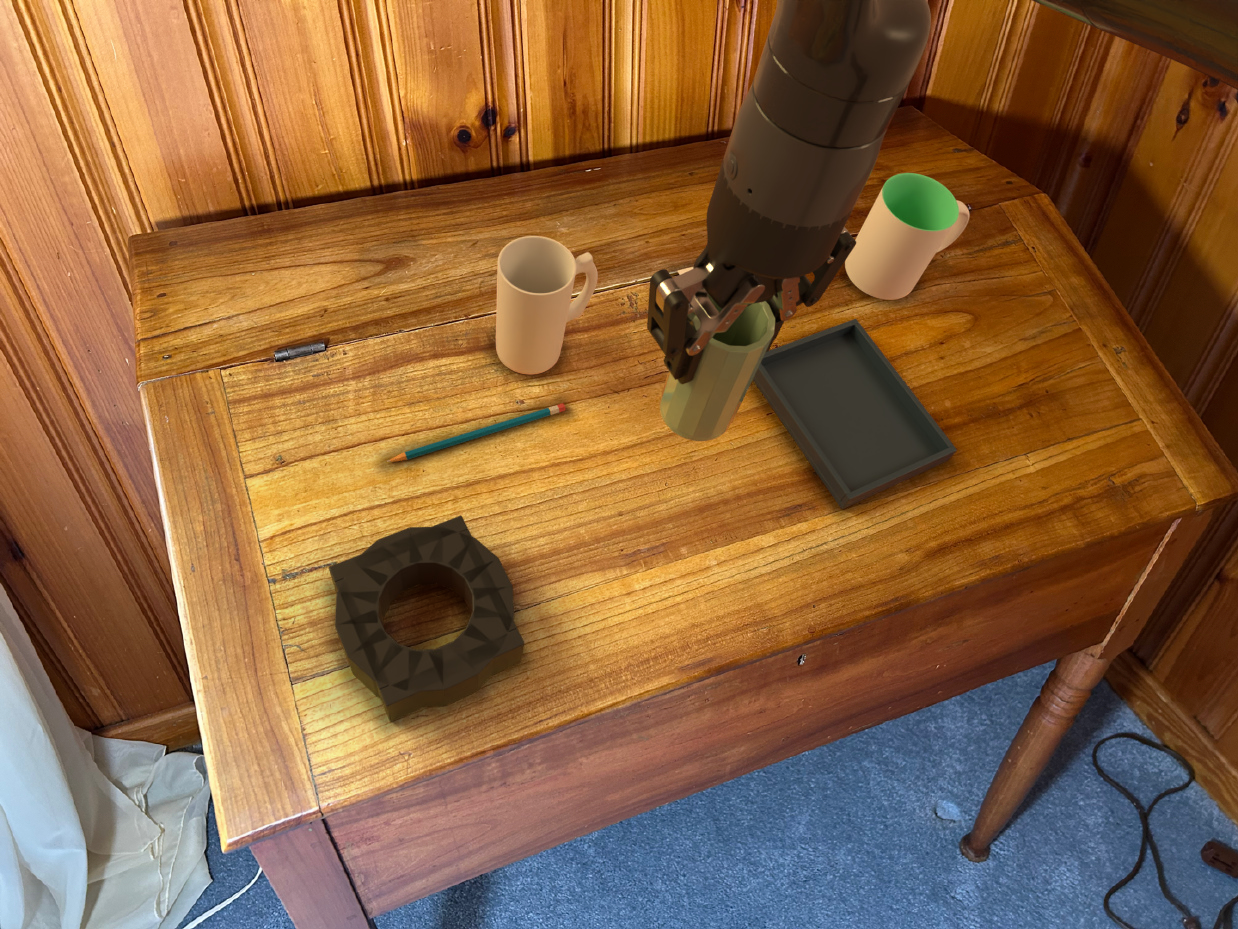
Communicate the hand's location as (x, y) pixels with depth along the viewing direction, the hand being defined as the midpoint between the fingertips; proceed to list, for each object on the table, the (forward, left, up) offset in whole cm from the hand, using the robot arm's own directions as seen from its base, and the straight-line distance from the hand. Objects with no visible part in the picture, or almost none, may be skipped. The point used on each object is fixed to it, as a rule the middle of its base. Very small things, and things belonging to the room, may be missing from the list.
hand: (717, 357), depth 64 cm
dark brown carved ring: (-2, +23, -23) cm, 32 cm away
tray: (+1, -22, -23) cm, 32 cm away
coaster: (+19, -19, -23) cm, 36 cm away
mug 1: (+20, +2, -23) cm, 31 cm away
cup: (0, 0, -7) cm, 7 cm away
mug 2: (+15, -39, -23) cm, 48 cm away
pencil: (+13, +12, -23) cm, 29 cm away
